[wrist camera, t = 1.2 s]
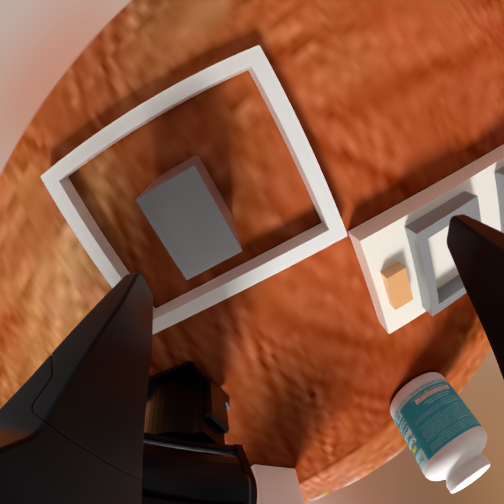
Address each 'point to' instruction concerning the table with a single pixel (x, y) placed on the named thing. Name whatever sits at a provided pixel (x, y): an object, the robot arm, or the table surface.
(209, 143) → the table surface
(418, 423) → the pill bottle
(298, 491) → the milk
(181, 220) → the plug
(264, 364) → the table surface
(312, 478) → the table surface
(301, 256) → the white square frame
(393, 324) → the power strip
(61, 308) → the table surface
